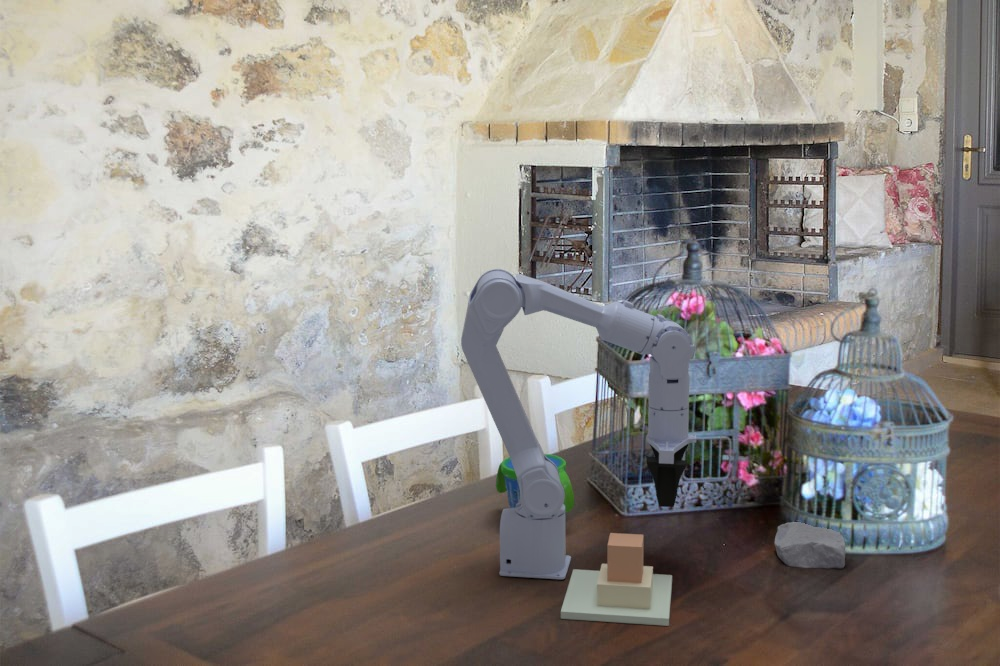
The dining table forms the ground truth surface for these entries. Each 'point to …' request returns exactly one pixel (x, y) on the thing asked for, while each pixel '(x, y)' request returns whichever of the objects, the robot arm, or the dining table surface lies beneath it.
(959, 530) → the dining table surface
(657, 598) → the base plate
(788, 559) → the stone block
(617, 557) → the top brick
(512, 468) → the snack cup
